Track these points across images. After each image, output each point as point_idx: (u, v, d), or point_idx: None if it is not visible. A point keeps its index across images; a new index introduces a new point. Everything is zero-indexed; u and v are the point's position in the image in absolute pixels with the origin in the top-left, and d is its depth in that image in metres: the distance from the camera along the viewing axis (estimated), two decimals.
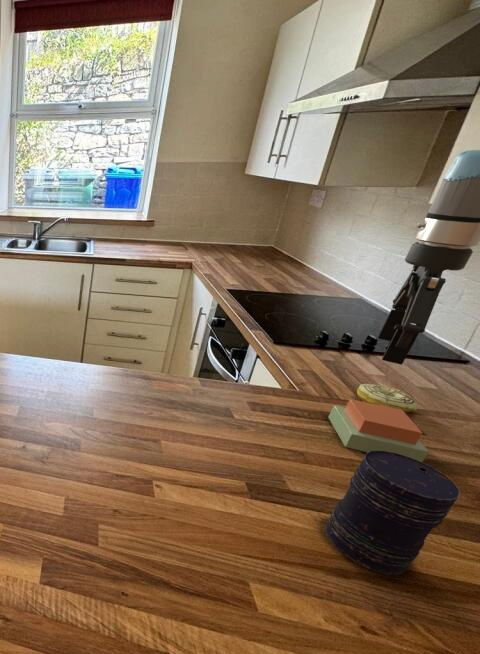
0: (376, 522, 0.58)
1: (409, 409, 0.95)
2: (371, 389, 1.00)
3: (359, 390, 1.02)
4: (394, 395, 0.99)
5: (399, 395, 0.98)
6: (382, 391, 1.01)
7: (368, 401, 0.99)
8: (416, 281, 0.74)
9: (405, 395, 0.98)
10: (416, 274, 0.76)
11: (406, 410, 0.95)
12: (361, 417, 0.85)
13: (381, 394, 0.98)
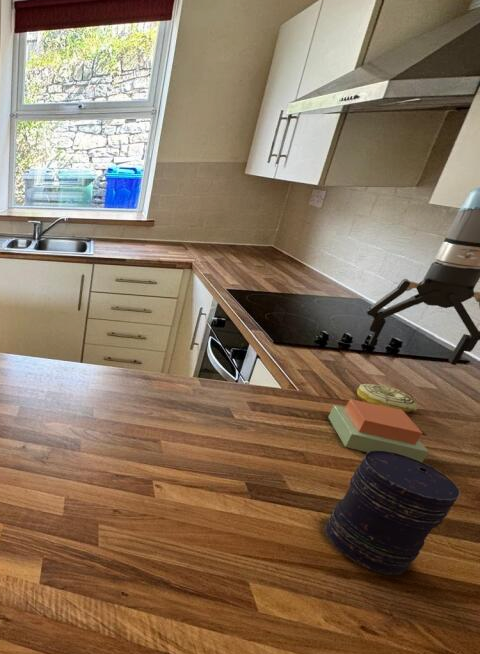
0: (376, 522, 0.58)
1: (409, 409, 0.95)
2: (371, 389, 1.00)
3: (359, 390, 1.02)
4: (394, 395, 0.99)
5: (399, 395, 0.98)
6: (382, 391, 1.01)
7: (368, 401, 0.99)
8: None
9: (405, 395, 0.98)
10: (439, 291, 0.87)
11: (406, 410, 0.95)
12: (361, 417, 0.85)
13: (381, 394, 0.98)
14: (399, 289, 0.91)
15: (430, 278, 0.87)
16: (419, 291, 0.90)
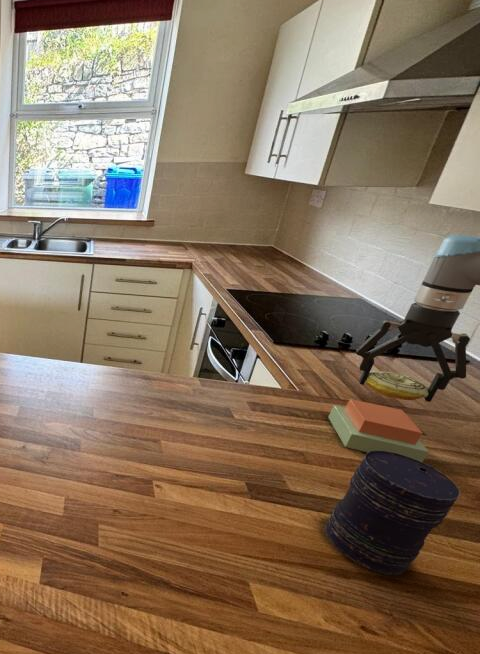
0: (376, 522, 0.58)
1: (420, 395, 0.93)
2: (380, 375, 0.98)
3: (368, 377, 1.00)
4: (404, 381, 0.97)
5: (409, 381, 0.96)
6: (391, 378, 0.99)
7: (377, 388, 0.97)
8: None
9: (415, 381, 0.96)
10: (419, 331, 0.92)
11: (417, 396, 0.93)
12: (361, 417, 0.85)
13: (390, 380, 0.96)
14: (382, 330, 0.96)
15: (410, 319, 0.92)
16: (400, 330, 0.94)
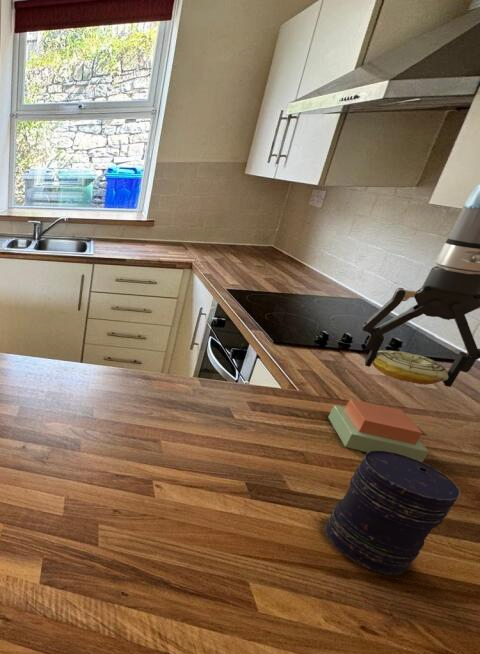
0: (376, 522, 0.58)
1: (438, 378, 0.77)
2: (390, 355, 0.82)
3: (375, 357, 0.84)
4: (419, 362, 0.81)
5: (425, 362, 0.80)
6: (404, 358, 0.83)
7: (387, 370, 0.81)
8: None
9: (433, 362, 0.80)
10: (440, 300, 0.76)
11: (435, 379, 0.77)
12: (361, 417, 0.85)
13: (403, 361, 0.80)
14: (394, 300, 0.80)
15: (430, 285, 0.75)
16: (417, 300, 0.78)
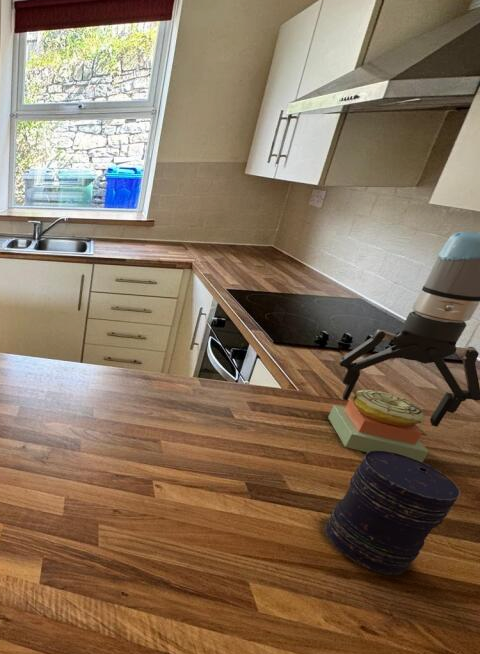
0: (376, 522, 0.58)
1: (415, 421, 0.80)
2: (370, 396, 0.85)
3: (356, 398, 0.86)
4: (397, 404, 0.84)
5: (403, 404, 0.83)
6: (383, 399, 0.85)
7: (366, 411, 0.84)
8: None
9: (410, 404, 0.83)
10: (417, 345, 0.78)
11: (412, 422, 0.80)
12: (360, 417, 0.85)
13: (382, 403, 0.82)
14: (374, 340, 0.82)
15: (407, 330, 0.78)
16: (396, 343, 0.80)
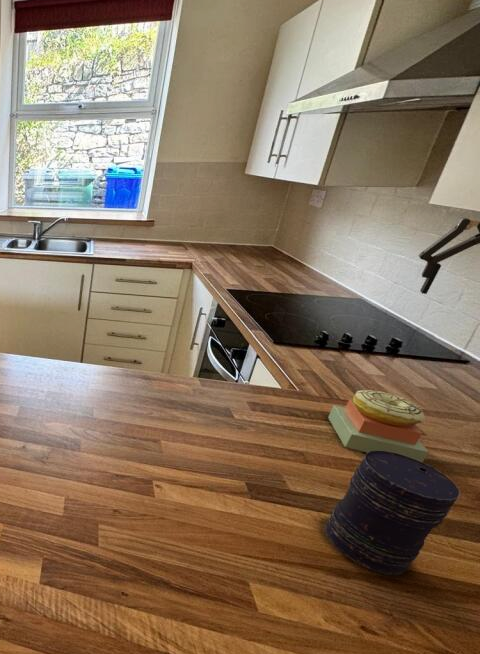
0: (376, 522, 0.58)
1: (415, 421, 0.80)
2: (370, 396, 0.85)
3: (355, 398, 0.86)
4: (397, 404, 0.84)
5: (403, 404, 0.83)
6: (383, 399, 0.85)
7: (366, 411, 0.84)
8: None
9: (410, 404, 0.83)
10: None
11: (411, 422, 0.80)
12: (360, 417, 0.85)
13: (381, 403, 0.83)
14: (457, 228, 0.84)
15: None
16: None
